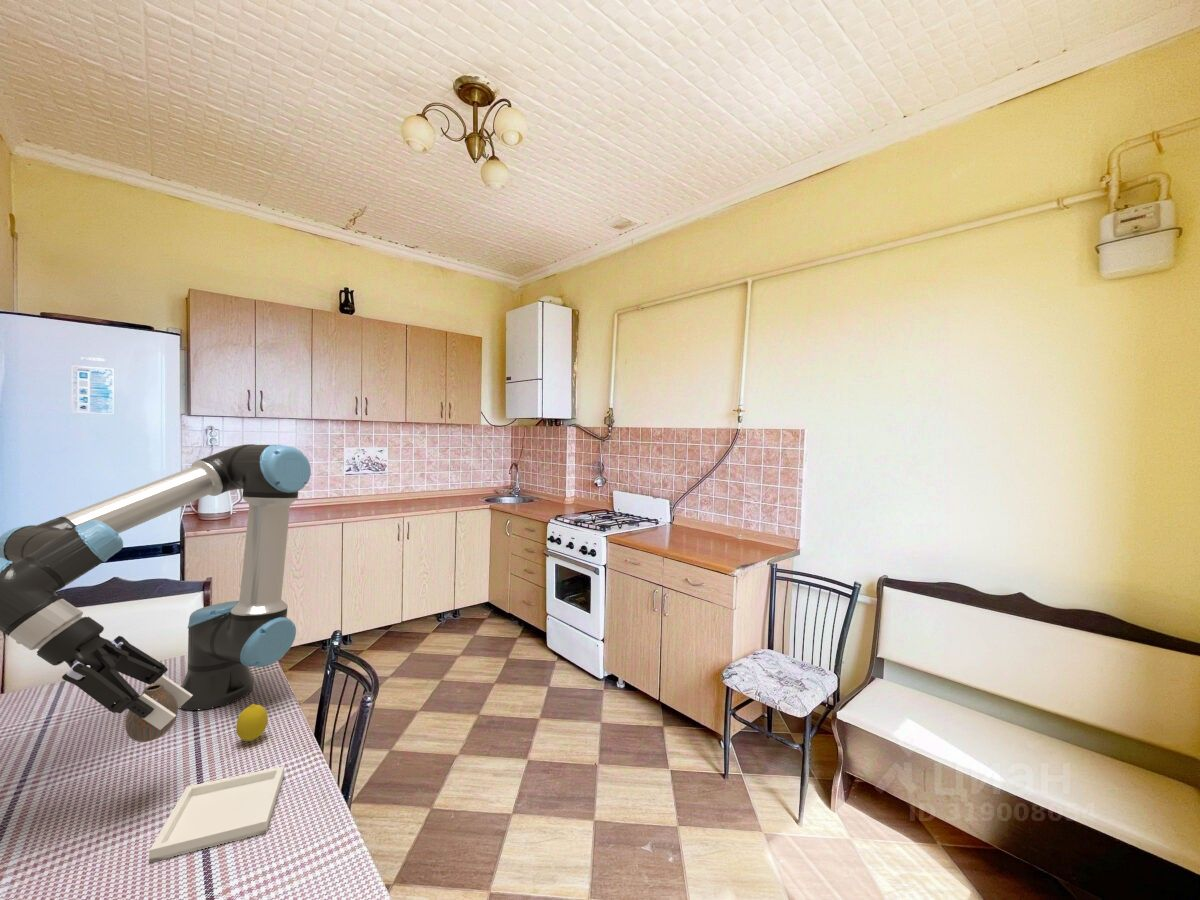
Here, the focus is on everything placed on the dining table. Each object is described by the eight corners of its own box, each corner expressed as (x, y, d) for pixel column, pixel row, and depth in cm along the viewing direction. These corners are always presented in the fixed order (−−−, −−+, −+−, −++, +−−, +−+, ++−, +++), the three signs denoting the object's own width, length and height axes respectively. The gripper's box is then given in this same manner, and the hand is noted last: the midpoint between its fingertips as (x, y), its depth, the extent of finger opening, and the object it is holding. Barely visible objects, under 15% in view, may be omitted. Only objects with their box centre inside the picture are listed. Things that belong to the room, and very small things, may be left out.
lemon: (250, 750, 100) (251, 712, 100) (229, 747, 101) (230, 709, 101) (273, 735, 106) (274, 699, 106) (252, 732, 107) (253, 696, 107)
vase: (130, 752, 81) (132, 701, 81) (119, 738, 85) (121, 688, 85) (182, 733, 87) (184, 685, 87) (169, 720, 91) (171, 674, 91)
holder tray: (186, 797, 87) (186, 786, 87) (283, 776, 93) (284, 765, 93) (149, 863, 73) (149, 850, 73) (266, 833, 79) (266, 821, 79)
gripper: (74, 629, 89) (181, 702, 95) (-8, 676, 71) (130, 762, 77) (113, 599, 91) (214, 671, 97) (42, 636, 73) (173, 723, 79)
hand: (177, 711), depth 87 cm, fingers closed on vase, 7 cm apart
